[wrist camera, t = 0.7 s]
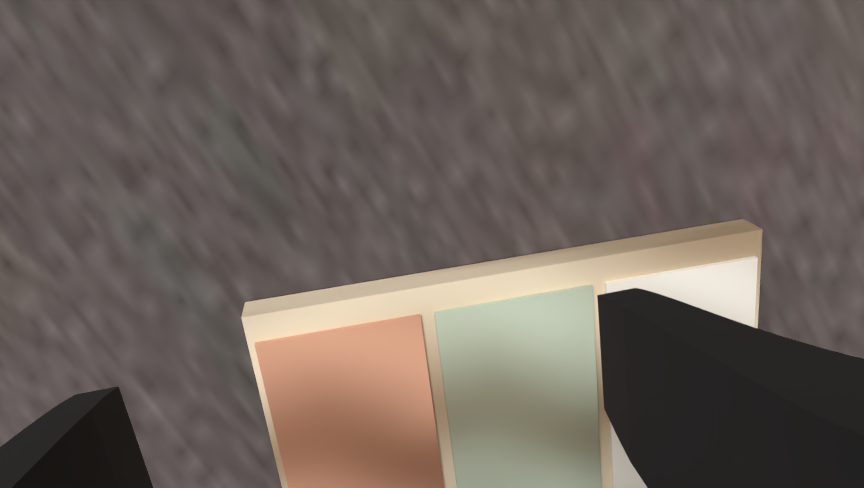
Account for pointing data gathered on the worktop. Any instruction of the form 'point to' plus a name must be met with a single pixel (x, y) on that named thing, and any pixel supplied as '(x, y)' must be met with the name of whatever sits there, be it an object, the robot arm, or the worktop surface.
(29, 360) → the worktop surface
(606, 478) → the board
